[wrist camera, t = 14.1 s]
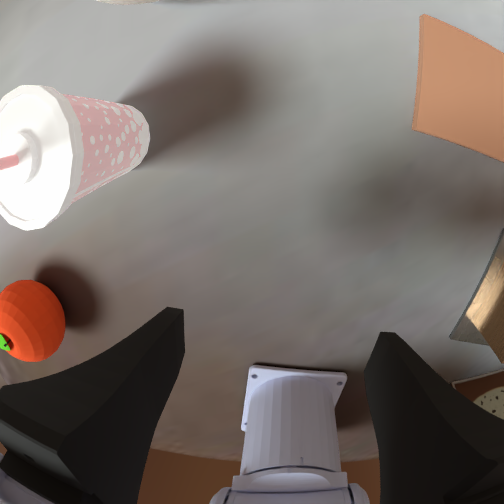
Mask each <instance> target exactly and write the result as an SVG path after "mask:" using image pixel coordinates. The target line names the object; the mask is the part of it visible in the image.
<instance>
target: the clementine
mask: <svg viewBox="0 0 504 504" xmlns="http://www.w3.org/2000/svg"><path fill="white" fill-rule="evenodd" d="M64 333H65V316H64V311H63V308H62V305H61V303H60V302H59V300H58V298H57V297H56V296H55V294H54V293H53V292H52V291H51V290H50V289H49V288H48V287H46V286H45V285H43V284H42V283H39V282H36V281H33V280H20V281H16V282H14V283H12V284H10V285H9V286H7V287H6V288H5V289H4V290H3V291H2V292H1V293H0V348H1V349H3V350H6V351H7V352H8V353H9V354H11V355H12V356H14V357H16V358H18V359H20V360H23V361H26V362H37V361H41V360H44V359H47V358H48V357H50V356H51V355H52V354H53V353H54V352H56V351H57V349H58V348H59V346H60V344H61V342H62V340H63V338H64Z"/></svg>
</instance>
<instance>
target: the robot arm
mask: <svg viewBox="0 0 504 504" xmlns="http://www.w3.org/2000/svg"><path fill="white" fill-rule="evenodd" d="M184 353H185V342H184V311H183V309H177V308H171V307H167V308H165V309H164V310H162V311H161V312H160V313H158V314H157V315H156V316H155V317H153V318H152V319H151V320H149V321H148V322H147V323H145V324H144V325H143V326H142V327H140V328H139V329H137V330H136V331H135V332H133V333H132V334H131V335H129V336H128V337H126V338H125V339H123V340H122V341H120V342H119V343H117V344H116V345H114V346H113V347H111V348H110V349H108V350H106V351H104V352H103V353H101V354H99V355H97V356H95V357H93V358H91V359H89V360H88V361H85V362H83V363H81V364H79V365H76V366H74V367H71V368H69V369H67V370H64V371H62V372H59V373H56V374H53V375H50V376H47V377H43V378H40V379H36V380H32V381H28V382H22V383H17V384H12V385H5V386H3V387H2V388H1V389H0V442H1V443H2V444H3V445H4V447H5V448H6V449H7V452H6V454H5V456H3V455H2V454H1V453H0V504H137V500H138V494H139V490H140V485H141V481H142V476H143V471H144V467H145V463H146V460H147V456H148V452H149V449H150V445H151V442H152V438H153V435H154V431H155V428H156V426H157V423H158V420H159V418H160V416H161V414H162V411H163V409H164V407H165V404H166V402H167V400H168V398H169V395H170V393H171V391H172V388H173V386H174V384H175V381H176V379H177V377H178V374H179V371H180V368H181V364H182V361H183V357H184ZM253 374H256V375H253ZM364 377H365V387H366V395H367V399H368V404H369V408H370V412H371V416H372V420H373V425H374V429H375V433H376V438H377V443H378V449H379V460H380V480H381V481H380V482H381V484H380V485H381V495H380V504H504V420H503V419H501V418H499V417H497V416H495V415H493V414H492V413H490V412H488V411H486V410H485V409H483V408H481V407H480V406H478V405H477V404H475V403H473V402H472V401H471V400H469V399H468V398H466V397H465V396H464V395H462V394H461V393H460V392H458V391H457V390H456V389H454V388H453V387H452V386H451V385H450V384H448V383H447V382H446V381H445V380H444V379H443V378H442V377H441V376H439V375H438V374H437V373H436V372H435V371H434V370H433V369H432V368H431V367H430V366H429V365H428V364H427V363H426V362H425V361H424V360H423V359H422V358H421V357H420V356H419V355H418V354H417V353H416V352H415V351H414V350H413V349H412V348H411V347H410V346H409V345H408V344H407V343H406V342H405V341H404V340H403V339H402V338H400V337H399V336H398V335H397V334H396V333H393V332H380V334H379V337H378V339H377V342H376V344H375V347H374V349H373V352H372V354H371V356H370V359H369V361H368V363H367V366H366V368H365V370H364ZM340 381H341V382H340ZM346 381H347V375H346V373H343V372H326V371H312V370H299V369H288V368H278V367H269V366H260V365H252V366H251V367H250V368H249V375H248V382H247V389H246V396H245V404H244V411H243V418H242V425H241V430H242V431H245V432H246V433H245V441H244V448H243V456H242V463H241V470H240V476H233V482H232V488H230V487H225V488H222V489H221V490H220V491H219V492H218V493H217V494H215V495H214V496H213V498H212V499H211V501H210V504H370V503H369V499H368V496H367V493H366V492H365V491H364V490H363V489H362V488H361V487H359V485H358V484H356V483H352V484H348V483H347V474H346V472H341V466H340V455H339V445H338V436H337V428H336V419H335V411H334V408H335V405H336V403H337V401H338V399H339V397H340V394H341V392H342V390H343V388H344V385H345V383H346Z"/></svg>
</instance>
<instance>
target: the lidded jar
mask: <svg viewBox="0 0 504 504" xmlns="http://www.w3.org/2000/svg"><path fill="white" fill-rule="evenodd" d="M95 1H99V2H103V3H110V4H119V5H130V4H144V3H150V2H155V1H159V0H95Z"/></svg>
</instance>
